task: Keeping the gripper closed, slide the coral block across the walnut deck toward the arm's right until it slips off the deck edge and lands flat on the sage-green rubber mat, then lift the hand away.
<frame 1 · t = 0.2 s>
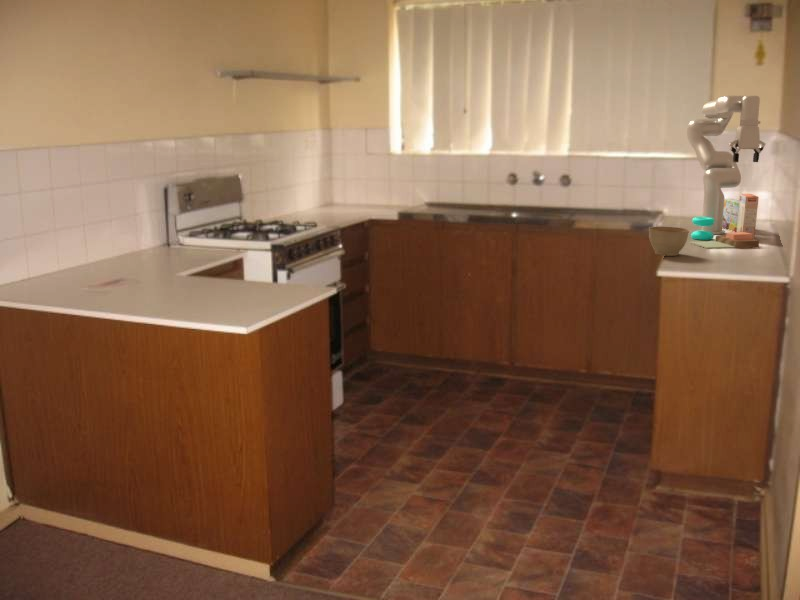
hand: (745, 162, 383), 36 cm above the table, tool pointing down, fingers open, 9 cm apart
cracker box: (745, 239, 394), on the table
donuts: (701, 239, 396), on the table
snack box: (734, 231, 423), on the table
walnut deck: (736, 244, 379), on the table
planter bowl: (666, 255, 354), on the table
sage mat: (711, 245, 377), on the table
coral block: (739, 235, 378), point 4 cm above the table, touching walnut deck
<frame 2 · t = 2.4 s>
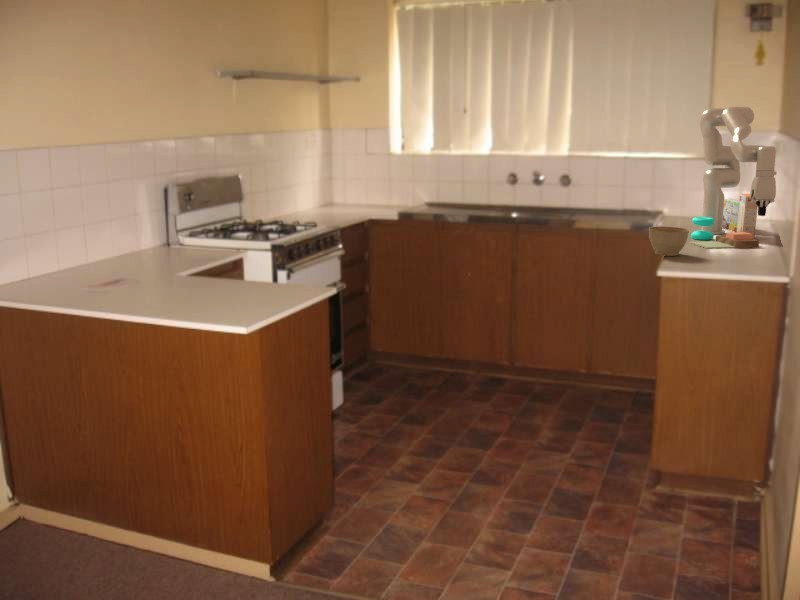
hand: (761, 215, 377), 13 cm above the table, tool pointing down, fingers closed
nothing on the table moved.
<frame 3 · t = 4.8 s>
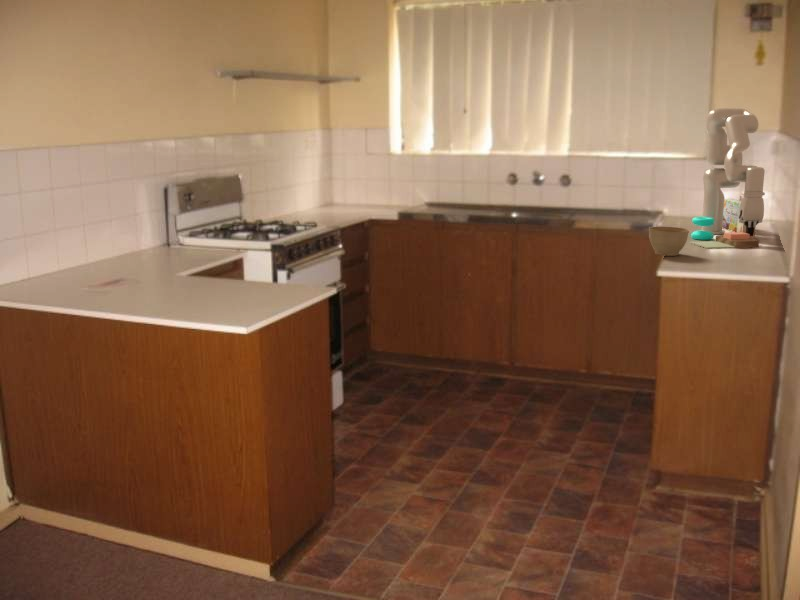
hand: (749, 235, 378), 4 cm above the table, tool pointing down, fingers closed
coral block: (736, 235, 378), point 4 cm above the table, touching walnut deck
everything else where it was.
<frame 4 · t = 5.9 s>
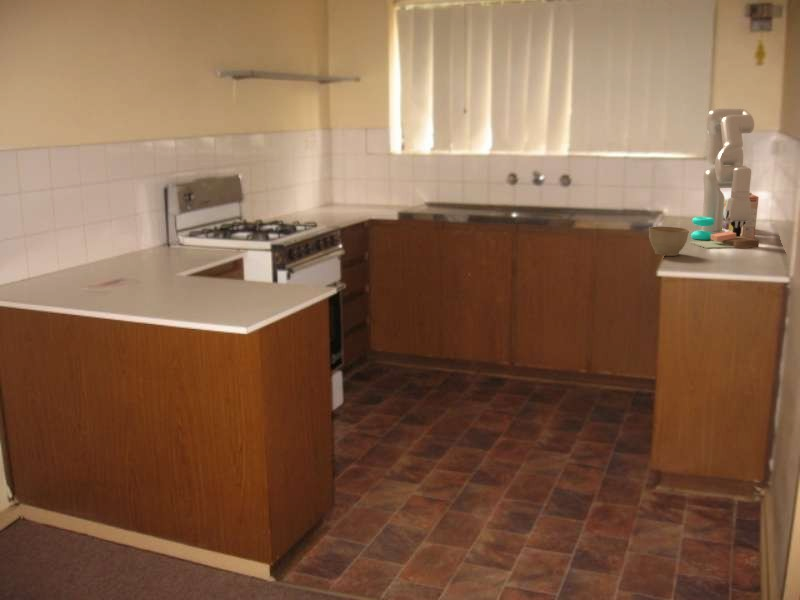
hand: (736, 236, 378), 4 cm above the table, tool pointing down, fingers closed
coral block: (723, 236, 377), point 4 cm above the table, tilted 9°, touching gripper, walnut deck
everything else where it was.
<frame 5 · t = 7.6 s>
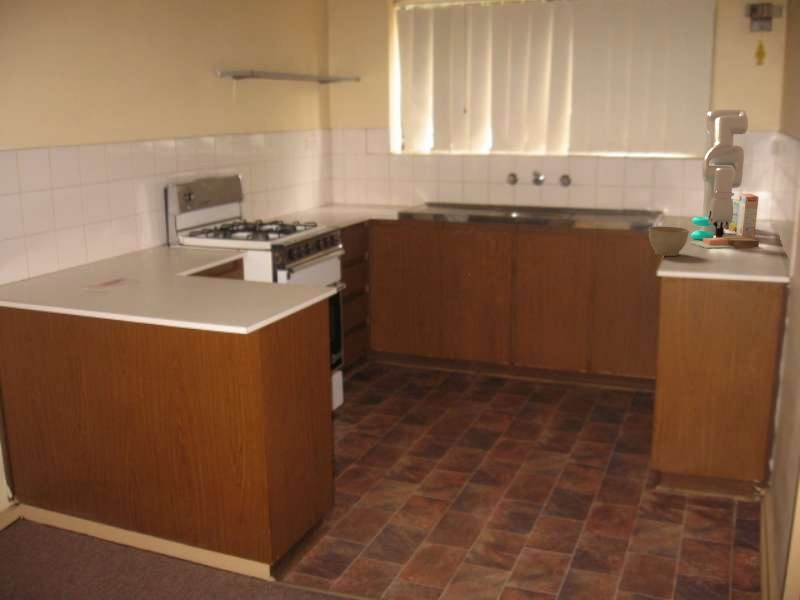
hand: (718, 236, 376), 4 cm above the table, tool pointing down, fingers closed
coral block: (715, 241, 377), point 2 cm above the table, touching sage mat
everything else where it was.
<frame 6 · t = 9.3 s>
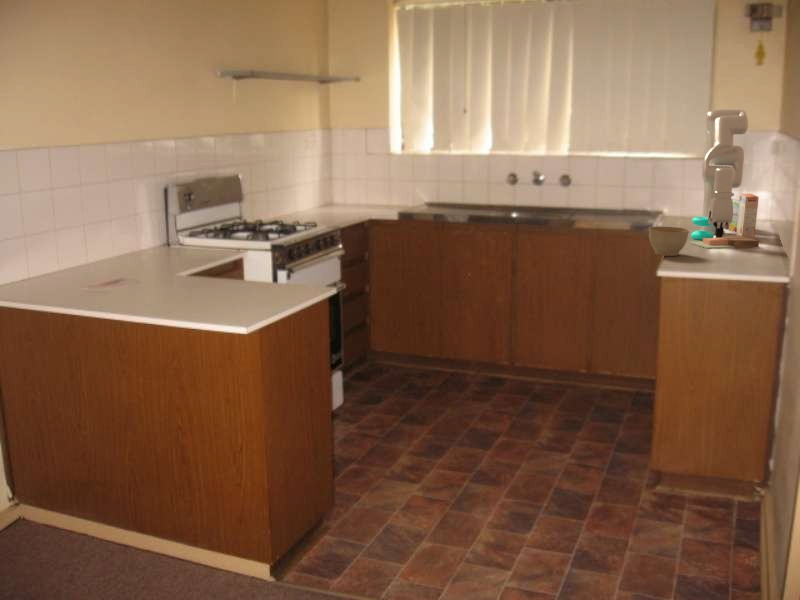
hand: (718, 236, 376), 4 cm above the table, tool pointing down, fingers closed
nothing on the table moved.
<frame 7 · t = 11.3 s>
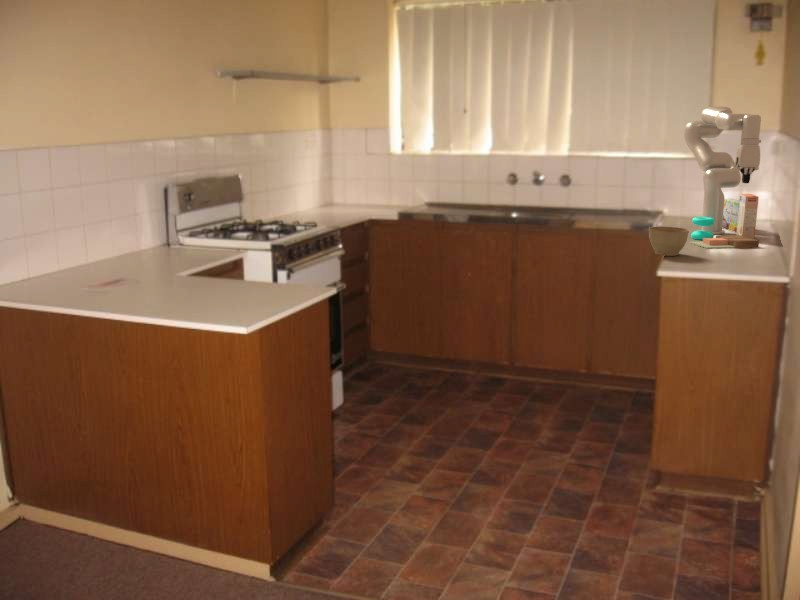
hand: (745, 182, 385), 27 cm above the table, tool pointing down, fingers closed
nothing on the table moved.
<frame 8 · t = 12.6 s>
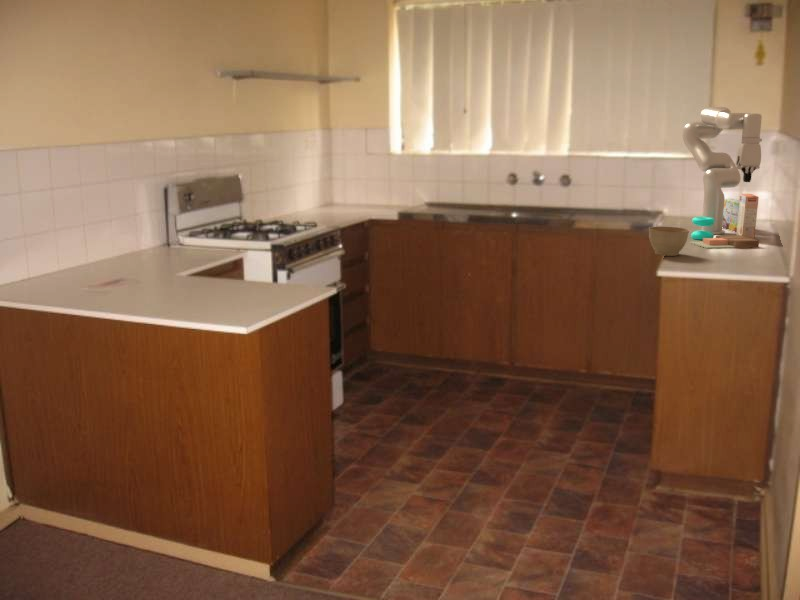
hand: (746, 181, 385), 27 cm above the table, tool pointing down, fingers closed
nothing on the table moved.
at the end: coral block inside the target area on the sage mat (2.2 cm from its centre), point 1.7 cm above the sage mat's base; coral block point 1.7 cm above the table; coral block tilted 0° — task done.
